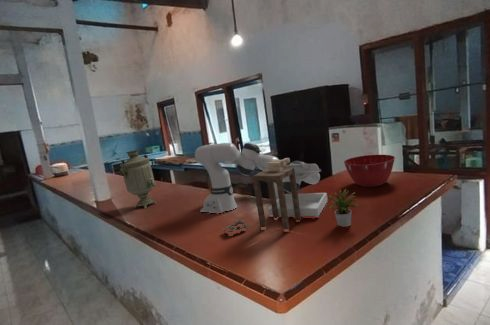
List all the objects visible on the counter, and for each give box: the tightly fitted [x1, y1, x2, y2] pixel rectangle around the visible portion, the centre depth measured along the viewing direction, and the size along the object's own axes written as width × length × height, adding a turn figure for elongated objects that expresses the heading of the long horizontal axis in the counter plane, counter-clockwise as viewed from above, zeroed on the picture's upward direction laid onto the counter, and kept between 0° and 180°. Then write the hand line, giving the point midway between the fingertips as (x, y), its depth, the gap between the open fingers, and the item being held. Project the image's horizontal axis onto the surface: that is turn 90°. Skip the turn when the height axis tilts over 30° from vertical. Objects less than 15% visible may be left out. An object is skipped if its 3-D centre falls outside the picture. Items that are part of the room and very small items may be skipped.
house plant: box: [324, 188, 358, 227], centre depth 131 cm, size 14×14×16 cm
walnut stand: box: [251, 168, 302, 230], centre depth 141 cm, size 14×14×26 cm
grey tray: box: [268, 192, 329, 218], centre depth 160 cm, size 25×24×5 cm
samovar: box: [114, 149, 158, 210], centre depth 213 cm, size 30×26×40 cm
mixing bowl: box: [343, 154, 396, 188], centre depth 184 cm, size 28×28×16 cm
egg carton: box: [222, 219, 248, 232], centre depth 144 cm, size 11×8×4 cm
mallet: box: [268, 157, 291, 171], centre depth 145 cm, size 14×6×4 cm, turn 145°
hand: (292, 165), depth 153 cm, fingers open, 8 cm apart
